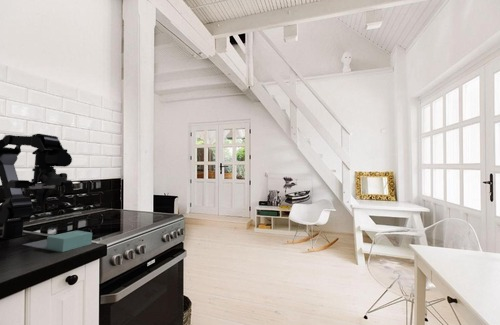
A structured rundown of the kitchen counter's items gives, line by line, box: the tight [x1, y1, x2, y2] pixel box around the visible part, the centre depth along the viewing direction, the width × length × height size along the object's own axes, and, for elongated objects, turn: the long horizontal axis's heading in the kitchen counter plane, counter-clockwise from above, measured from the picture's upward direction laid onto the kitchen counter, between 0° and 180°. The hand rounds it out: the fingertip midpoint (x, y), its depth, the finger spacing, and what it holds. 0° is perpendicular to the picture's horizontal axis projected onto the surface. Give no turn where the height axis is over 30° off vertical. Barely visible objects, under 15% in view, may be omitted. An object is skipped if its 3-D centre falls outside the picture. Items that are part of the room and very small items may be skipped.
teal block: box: [45, 230, 93, 253], centre depth 80 cm, size 4×10×8 cm
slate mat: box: [21, 238, 61, 253], centre depth 82 cm, size 19×10×1 cm, turn 71°
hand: (41, 206), depth 90 cm, fingers closed
